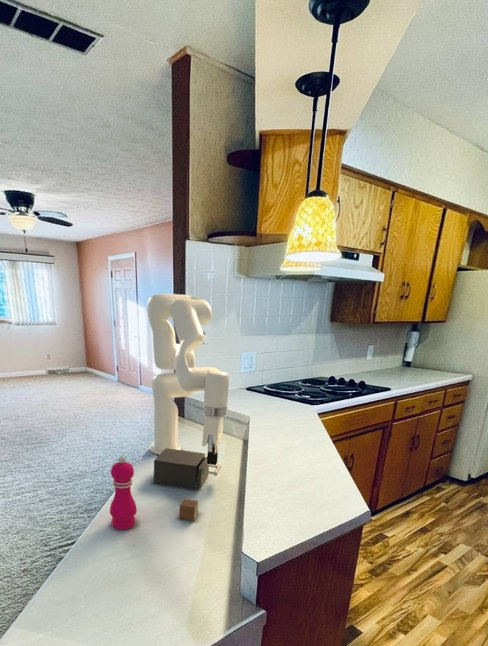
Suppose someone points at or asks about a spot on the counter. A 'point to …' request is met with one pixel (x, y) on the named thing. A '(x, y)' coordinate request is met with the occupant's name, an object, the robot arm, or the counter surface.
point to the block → (188, 509)
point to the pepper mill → (122, 496)
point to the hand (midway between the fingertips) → (212, 463)
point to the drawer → (205, 471)
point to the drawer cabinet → (177, 468)
